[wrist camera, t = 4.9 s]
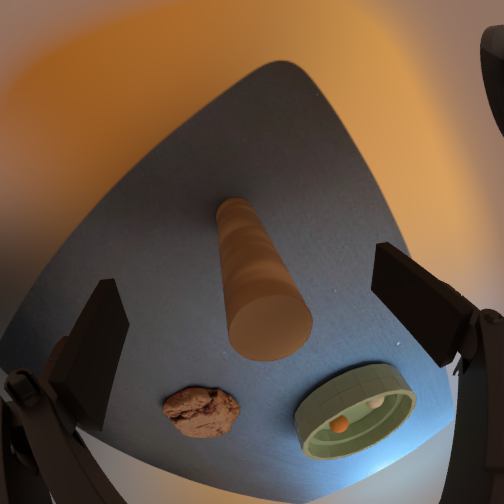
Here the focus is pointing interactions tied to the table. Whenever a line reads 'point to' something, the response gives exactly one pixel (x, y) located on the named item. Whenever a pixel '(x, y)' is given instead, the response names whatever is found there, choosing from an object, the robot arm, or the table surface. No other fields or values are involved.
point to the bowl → (353, 411)
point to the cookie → (202, 412)
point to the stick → (258, 288)
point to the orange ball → (339, 424)
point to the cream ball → (375, 402)
